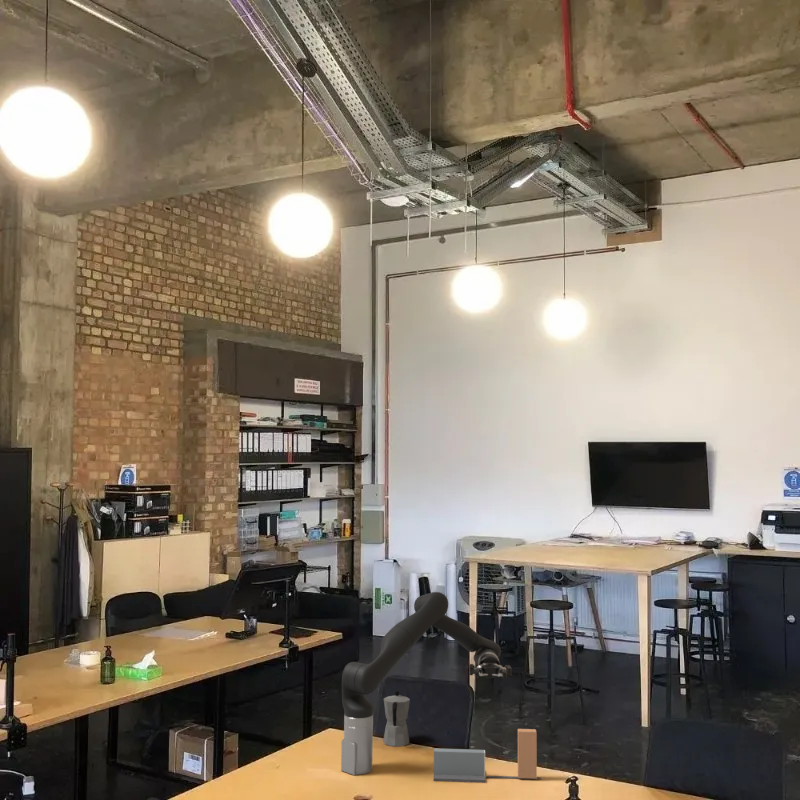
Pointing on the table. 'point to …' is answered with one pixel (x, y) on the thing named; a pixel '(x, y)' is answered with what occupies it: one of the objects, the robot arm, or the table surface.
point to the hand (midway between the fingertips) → (491, 675)
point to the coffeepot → (396, 720)
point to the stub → (527, 753)
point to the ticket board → (462, 766)
